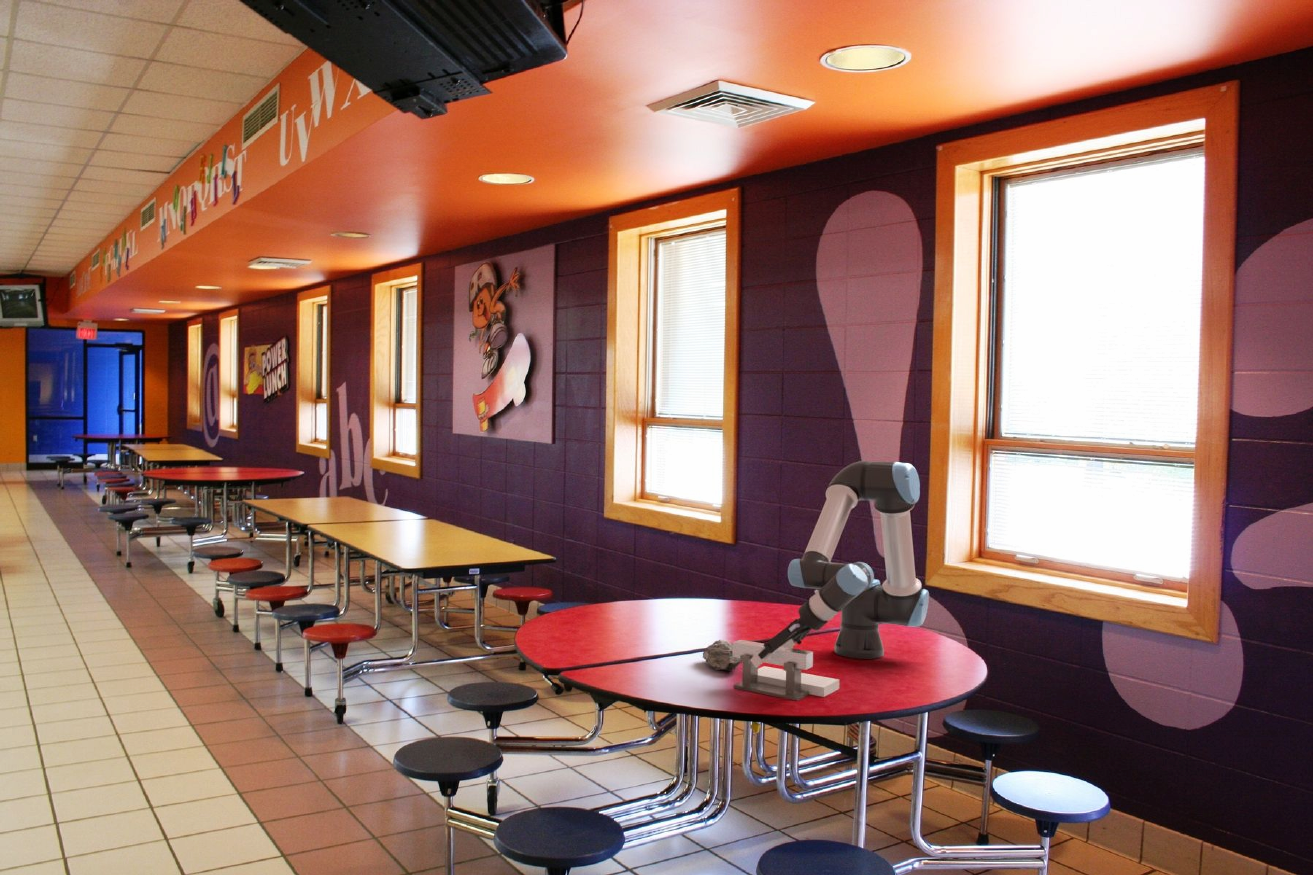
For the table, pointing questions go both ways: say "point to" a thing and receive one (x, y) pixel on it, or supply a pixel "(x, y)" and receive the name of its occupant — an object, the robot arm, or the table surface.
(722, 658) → the rock
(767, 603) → the table surface
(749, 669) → the rack
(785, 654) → the rail
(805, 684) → the board
